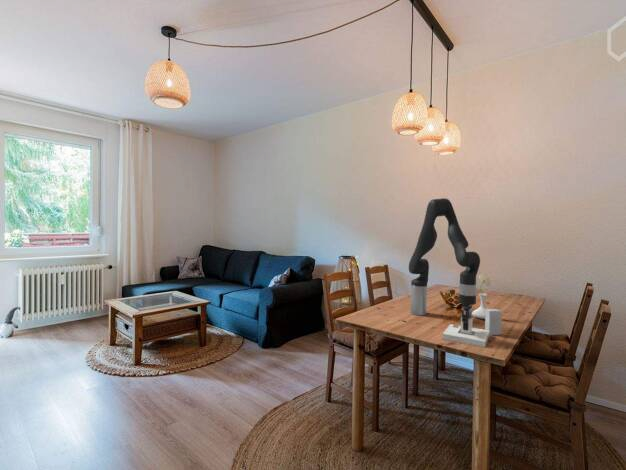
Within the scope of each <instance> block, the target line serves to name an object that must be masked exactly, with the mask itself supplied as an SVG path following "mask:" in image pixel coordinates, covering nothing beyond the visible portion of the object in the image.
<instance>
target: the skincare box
mask: <svg viewBox="0 0 626 470" xmlns="http://www.w3.org/2000/svg"><path fill="white" fill-rule="evenodd" d="M484 320H485V321H484V322H485V323H484V330H488V331H490V332H489V336H501V335H502V310H500V309H498V308H487V309H485V319H484Z"/></svg>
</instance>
